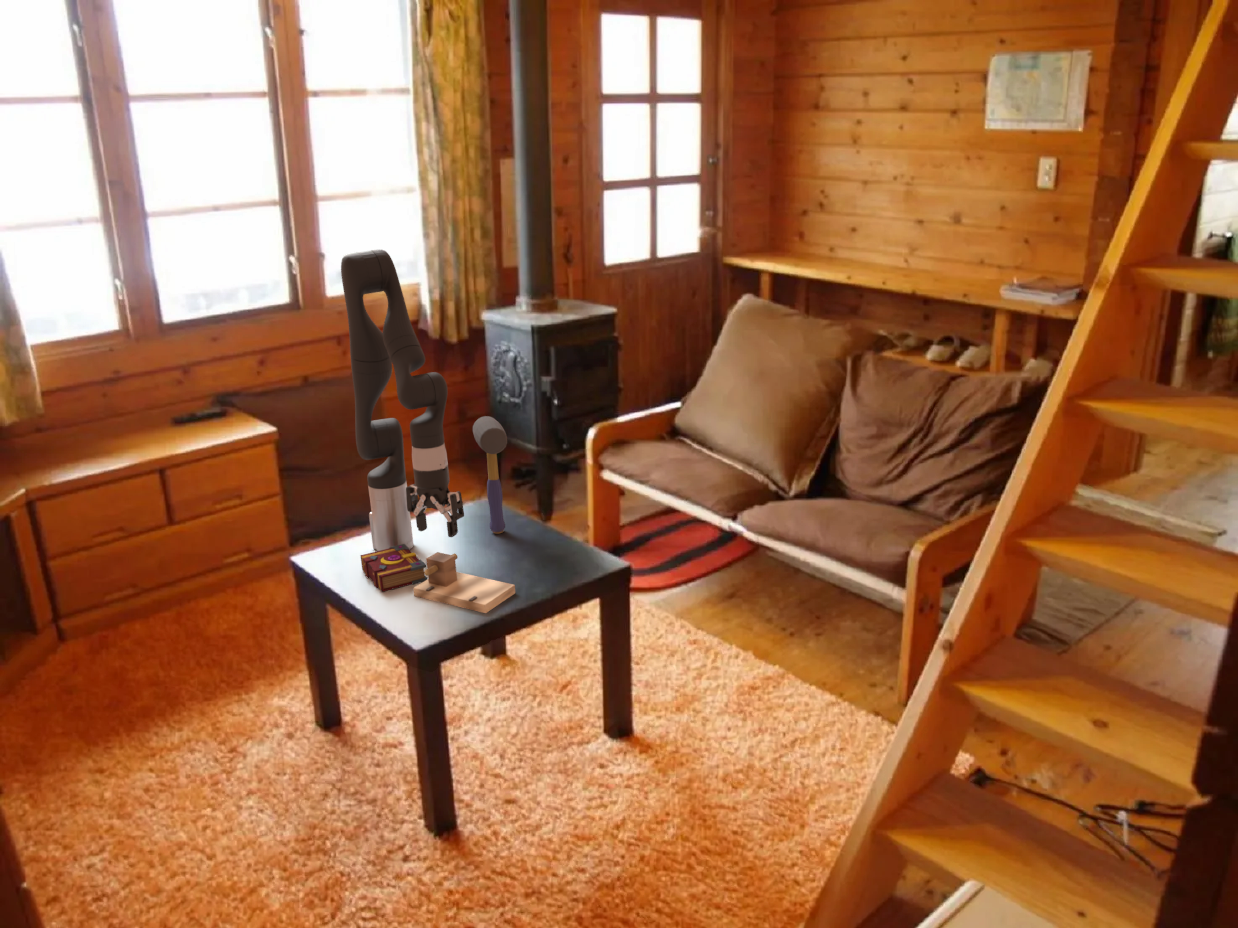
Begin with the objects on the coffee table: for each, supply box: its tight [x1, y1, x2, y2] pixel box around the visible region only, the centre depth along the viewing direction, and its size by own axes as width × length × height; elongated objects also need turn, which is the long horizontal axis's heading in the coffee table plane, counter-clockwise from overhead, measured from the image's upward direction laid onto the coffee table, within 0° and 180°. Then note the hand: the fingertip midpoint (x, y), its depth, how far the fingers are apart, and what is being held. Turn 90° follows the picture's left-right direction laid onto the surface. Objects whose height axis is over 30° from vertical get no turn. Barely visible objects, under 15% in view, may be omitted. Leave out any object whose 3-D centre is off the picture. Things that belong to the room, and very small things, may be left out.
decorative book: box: [359, 544, 428, 593], centre depth 246 cm, size 11×16×5 cm
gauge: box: [424, 551, 458, 587], centre depth 236 cm, size 5×10×6 cm, turn 150°
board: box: [412, 571, 516, 614], centre depth 234 cm, size 20×11×2 cm, turn 60°
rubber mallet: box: [472, 415, 508, 534], centre depth 264 cm, size 12×8×30 cm, turn 17°
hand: (437, 533), depth 233 cm, fingers open, 8 cm apart
